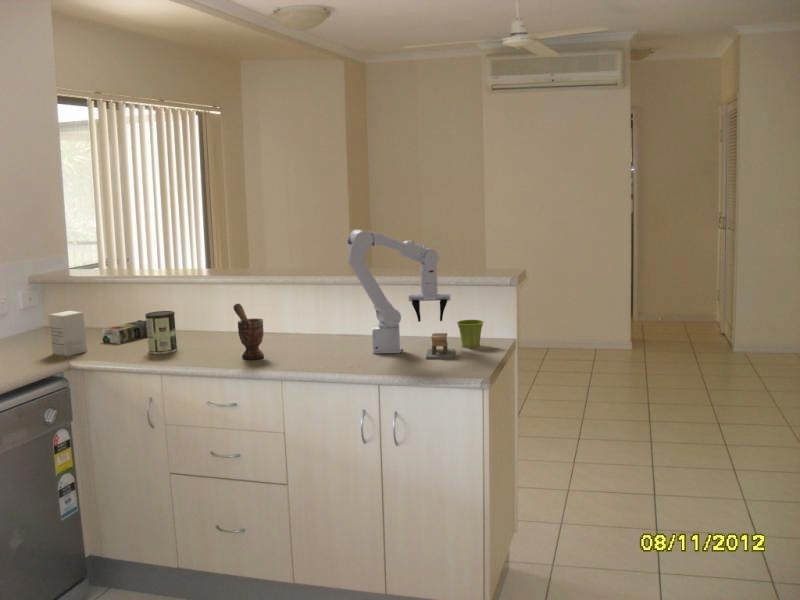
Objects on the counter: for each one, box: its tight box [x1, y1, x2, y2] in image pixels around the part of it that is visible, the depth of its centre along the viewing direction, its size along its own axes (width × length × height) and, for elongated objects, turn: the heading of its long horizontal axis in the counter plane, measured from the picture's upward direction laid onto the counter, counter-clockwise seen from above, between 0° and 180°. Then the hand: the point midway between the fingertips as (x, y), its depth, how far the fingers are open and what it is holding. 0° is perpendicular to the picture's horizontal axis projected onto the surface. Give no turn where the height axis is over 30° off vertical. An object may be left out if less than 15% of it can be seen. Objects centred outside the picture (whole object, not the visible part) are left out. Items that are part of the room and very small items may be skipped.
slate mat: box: [425, 348, 455, 360], centre depth 301 cm, size 9×12×1 cm
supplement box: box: [48, 310, 88, 357], centre depth 325 cm, size 9×9×15 cm
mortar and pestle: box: [233, 302, 265, 361], centre depth 304 cm, size 12×9×20 cm
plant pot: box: [456, 319, 484, 349], centre depth 313 cm, size 9×9×9 cm
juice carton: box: [102, 319, 148, 344], centre depth 350 cm, size 20×10×6 cm, turn 149°
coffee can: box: [144, 310, 178, 355], centre depth 323 cm, size 10×10×14 cm
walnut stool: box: [430, 332, 449, 355], centre depth 300 cm, size 6×5×6 cm
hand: (430, 321), depth 312 cm, fingers open, 7 cm apart
